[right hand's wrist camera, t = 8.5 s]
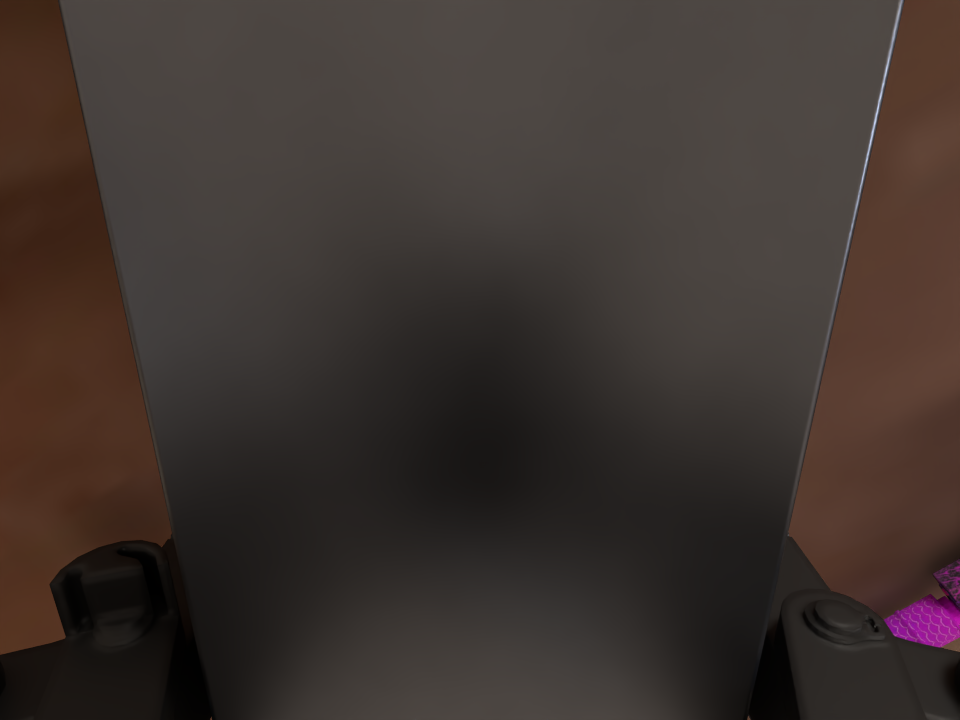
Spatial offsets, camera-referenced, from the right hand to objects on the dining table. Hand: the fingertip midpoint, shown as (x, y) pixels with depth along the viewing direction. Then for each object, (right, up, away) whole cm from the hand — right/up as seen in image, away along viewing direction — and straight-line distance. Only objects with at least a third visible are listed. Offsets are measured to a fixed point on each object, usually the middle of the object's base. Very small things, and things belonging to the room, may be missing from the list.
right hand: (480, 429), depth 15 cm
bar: (0, +11, -4) cm, 12 cm away
